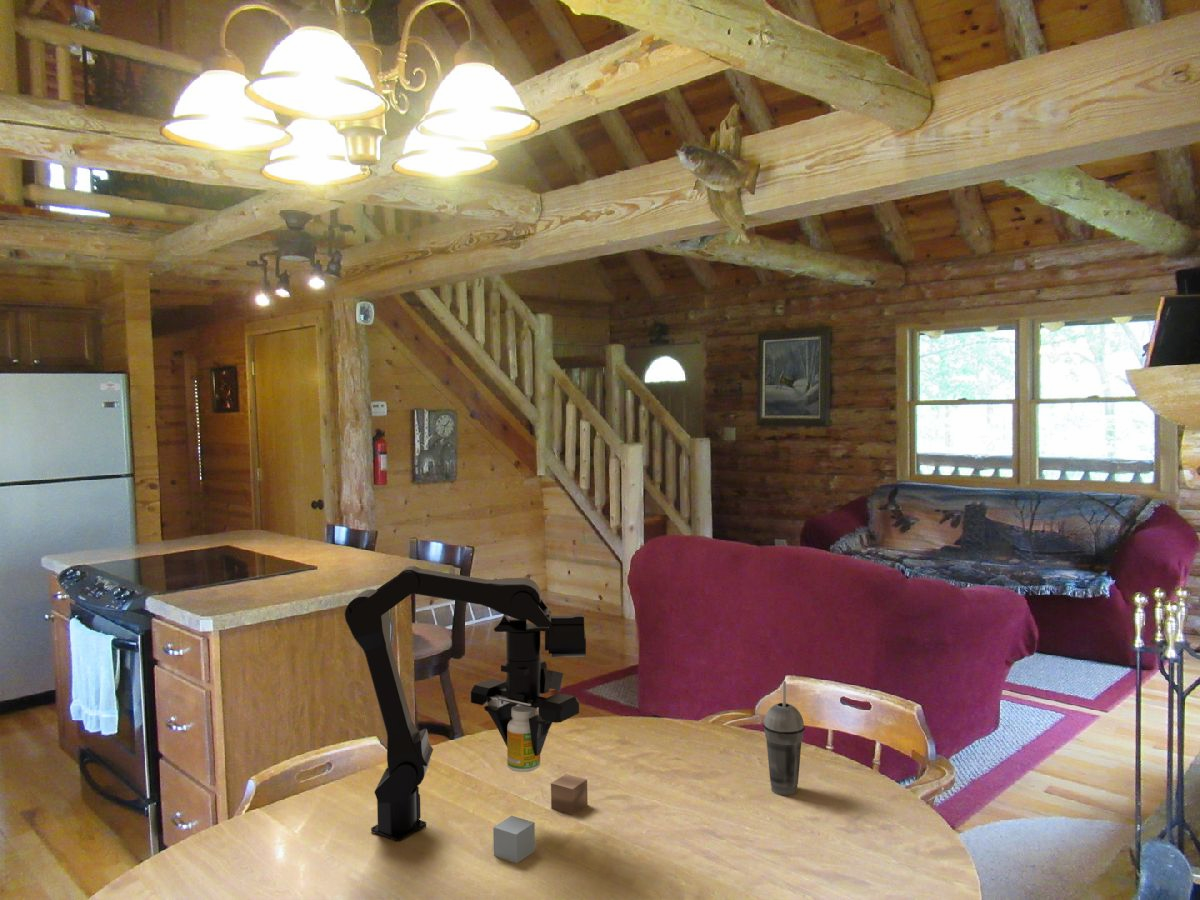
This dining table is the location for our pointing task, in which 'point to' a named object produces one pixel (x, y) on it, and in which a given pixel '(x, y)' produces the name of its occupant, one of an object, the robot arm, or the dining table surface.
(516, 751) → the supplement bottle
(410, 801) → the robot arm
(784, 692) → the beverage cup
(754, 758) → the dining table surface
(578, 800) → the pinkish brown block
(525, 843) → the slate block
